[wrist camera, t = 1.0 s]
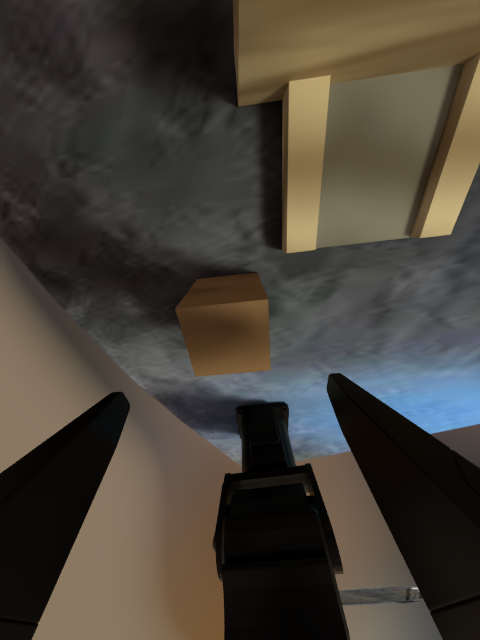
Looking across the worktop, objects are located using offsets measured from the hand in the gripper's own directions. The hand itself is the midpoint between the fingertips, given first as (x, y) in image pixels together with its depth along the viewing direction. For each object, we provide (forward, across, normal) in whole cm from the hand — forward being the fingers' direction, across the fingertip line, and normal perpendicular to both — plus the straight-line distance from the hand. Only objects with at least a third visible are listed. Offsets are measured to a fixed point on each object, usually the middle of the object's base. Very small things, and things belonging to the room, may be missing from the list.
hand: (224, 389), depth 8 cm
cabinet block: (+9, 0, 0) cm, 9 cm away
